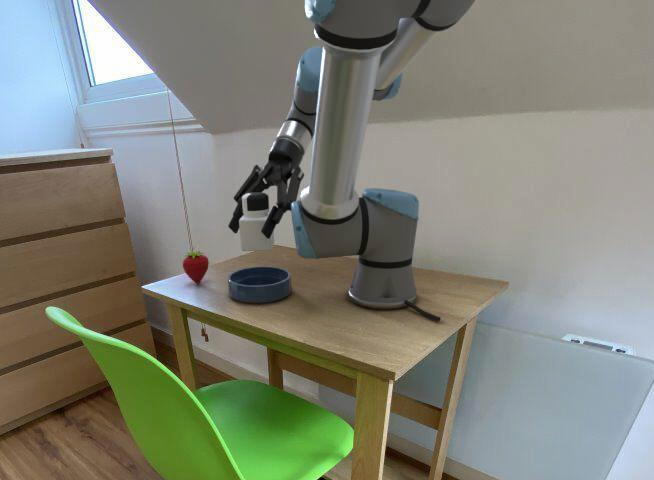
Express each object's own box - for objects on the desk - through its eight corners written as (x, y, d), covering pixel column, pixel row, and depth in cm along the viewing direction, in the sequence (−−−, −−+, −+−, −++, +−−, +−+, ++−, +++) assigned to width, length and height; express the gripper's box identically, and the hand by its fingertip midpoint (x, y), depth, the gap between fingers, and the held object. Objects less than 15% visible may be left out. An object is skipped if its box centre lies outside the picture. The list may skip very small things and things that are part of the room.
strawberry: (216, 281, 116) (212, 243, 111) (196, 290, 111) (191, 250, 106) (200, 278, 119) (195, 241, 114) (180, 286, 114) (174, 247, 109)
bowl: (303, 293, 106) (303, 275, 104) (254, 310, 98) (253, 291, 96) (264, 279, 116) (263, 262, 114) (217, 294, 108) (215, 276, 106)
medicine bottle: (274, 243, 106) (272, 190, 100) (271, 251, 100) (269, 195, 94) (245, 244, 107) (241, 191, 101) (241, 251, 101) (236, 196, 95)
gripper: (335, 161, 98) (293, 247, 96) (261, 160, 111) (223, 236, 109) (322, 136, 92) (277, 227, 90) (246, 137, 105) (205, 217, 103)
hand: (248, 232), depth 100 cm, fingers closed on medicine bottle, 10 cm apart
